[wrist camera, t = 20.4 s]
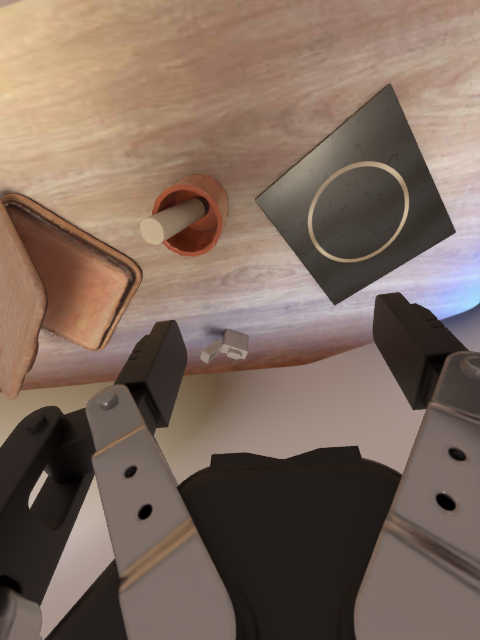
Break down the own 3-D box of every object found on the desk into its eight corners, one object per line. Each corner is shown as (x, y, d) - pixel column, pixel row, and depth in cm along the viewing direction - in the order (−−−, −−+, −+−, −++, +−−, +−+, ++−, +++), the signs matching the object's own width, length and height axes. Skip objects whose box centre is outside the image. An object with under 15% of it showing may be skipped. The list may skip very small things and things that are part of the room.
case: (3, 179, 37) (-138, 205, 24) (149, 267, 43) (102, 328, 30) (-20, 292, 47) (-129, 356, 34) (103, 351, 53) (51, 426, 39)
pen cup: (161, 200, 38) (137, 217, 30) (201, 159, 35) (186, 167, 28) (200, 243, 41) (187, 268, 33) (240, 209, 38) (236, 227, 31)
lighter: (248, 336, 49) (247, 367, 43) (245, 343, 50) (243, 375, 44) (209, 322, 48) (202, 353, 42) (206, 330, 49) (198, 361, 42)
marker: (186, 204, 38) (134, 228, 28) (199, 191, 36) (150, 212, 27) (199, 221, 38) (153, 250, 29) (213, 208, 37) (169, 235, 27)
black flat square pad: (255, 199, 37) (255, 200, 37) (388, 83, 30) (391, 83, 30) (333, 303, 45) (334, 305, 45) (453, 231, 38) (456, 232, 38)
